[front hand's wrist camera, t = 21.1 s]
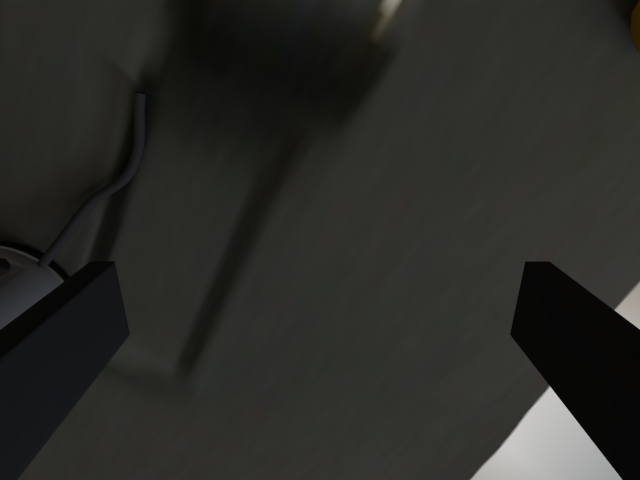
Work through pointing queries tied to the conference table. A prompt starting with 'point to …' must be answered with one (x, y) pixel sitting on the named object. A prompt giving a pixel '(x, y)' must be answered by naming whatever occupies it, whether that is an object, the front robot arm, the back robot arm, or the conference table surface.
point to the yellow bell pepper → (636, 26)
